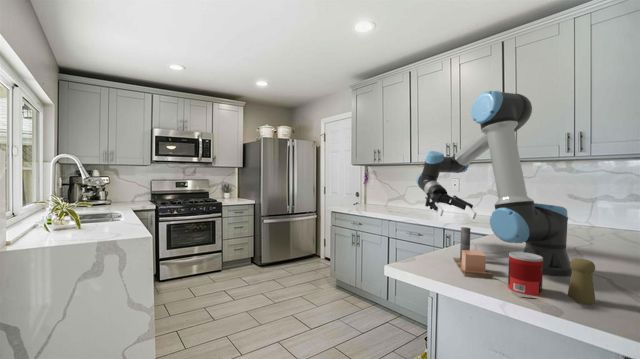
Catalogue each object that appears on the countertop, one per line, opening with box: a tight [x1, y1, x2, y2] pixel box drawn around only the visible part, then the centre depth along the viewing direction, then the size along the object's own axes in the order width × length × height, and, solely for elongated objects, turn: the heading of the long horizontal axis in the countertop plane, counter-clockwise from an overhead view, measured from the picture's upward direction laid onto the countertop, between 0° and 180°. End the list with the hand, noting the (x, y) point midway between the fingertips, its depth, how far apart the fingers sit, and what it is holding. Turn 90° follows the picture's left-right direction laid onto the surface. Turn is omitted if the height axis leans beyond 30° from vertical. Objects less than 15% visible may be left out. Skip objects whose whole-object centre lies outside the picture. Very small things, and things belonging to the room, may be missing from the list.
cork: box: [566, 258, 597, 306], centre depth 83 cm, size 6×6×11 cm
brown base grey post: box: [452, 226, 494, 280], centre depth 107 cm, size 22×8×13 cm, turn 166°
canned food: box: [507, 251, 544, 300], centre depth 87 cm, size 8×8×11 cm
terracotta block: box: [461, 249, 487, 272], centre depth 103 cm, size 6×6×6 cm
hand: (458, 214), depth 120 cm, fingers open, 13 cm apart
